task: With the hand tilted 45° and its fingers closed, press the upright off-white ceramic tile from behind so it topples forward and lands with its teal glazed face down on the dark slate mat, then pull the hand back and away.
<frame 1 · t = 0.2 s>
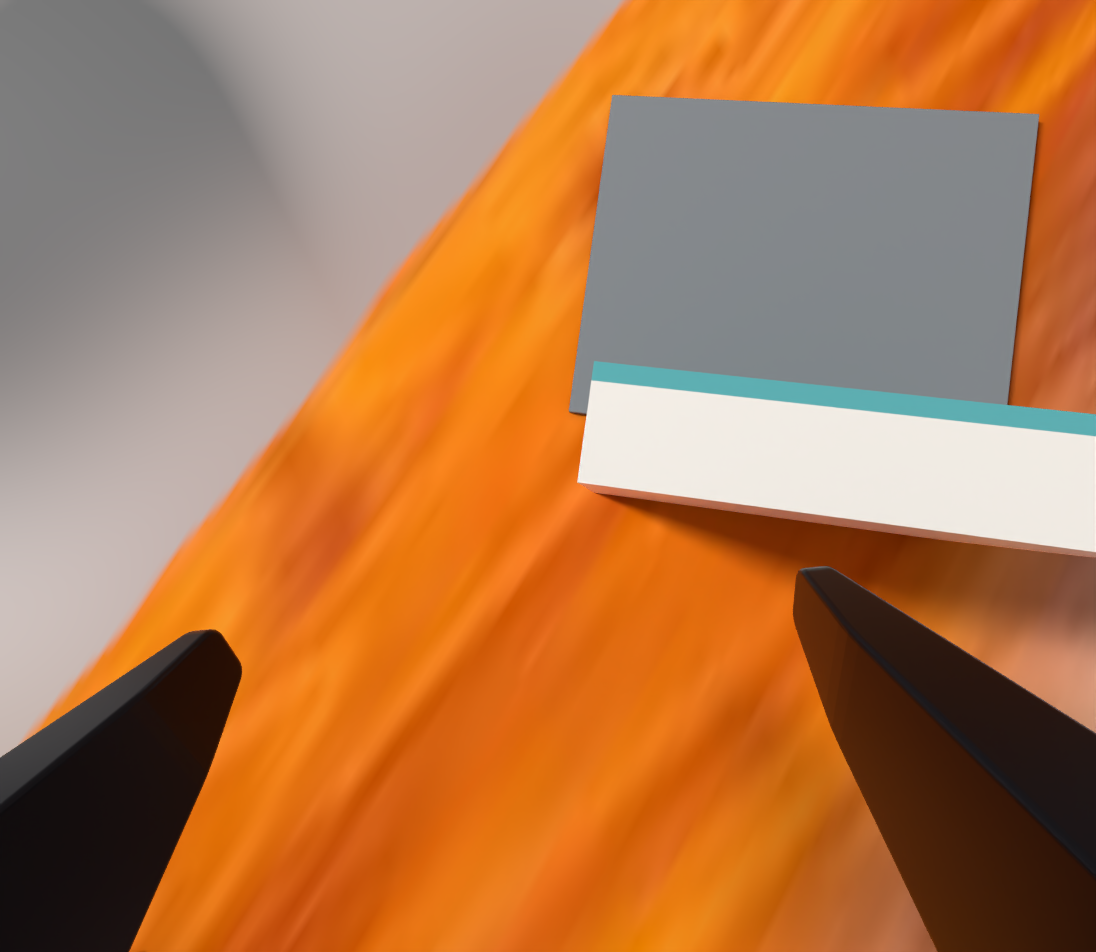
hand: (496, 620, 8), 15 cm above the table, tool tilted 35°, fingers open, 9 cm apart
tile: (765, 485, 22), on the table
slate mat: (792, 271, 22), on the table
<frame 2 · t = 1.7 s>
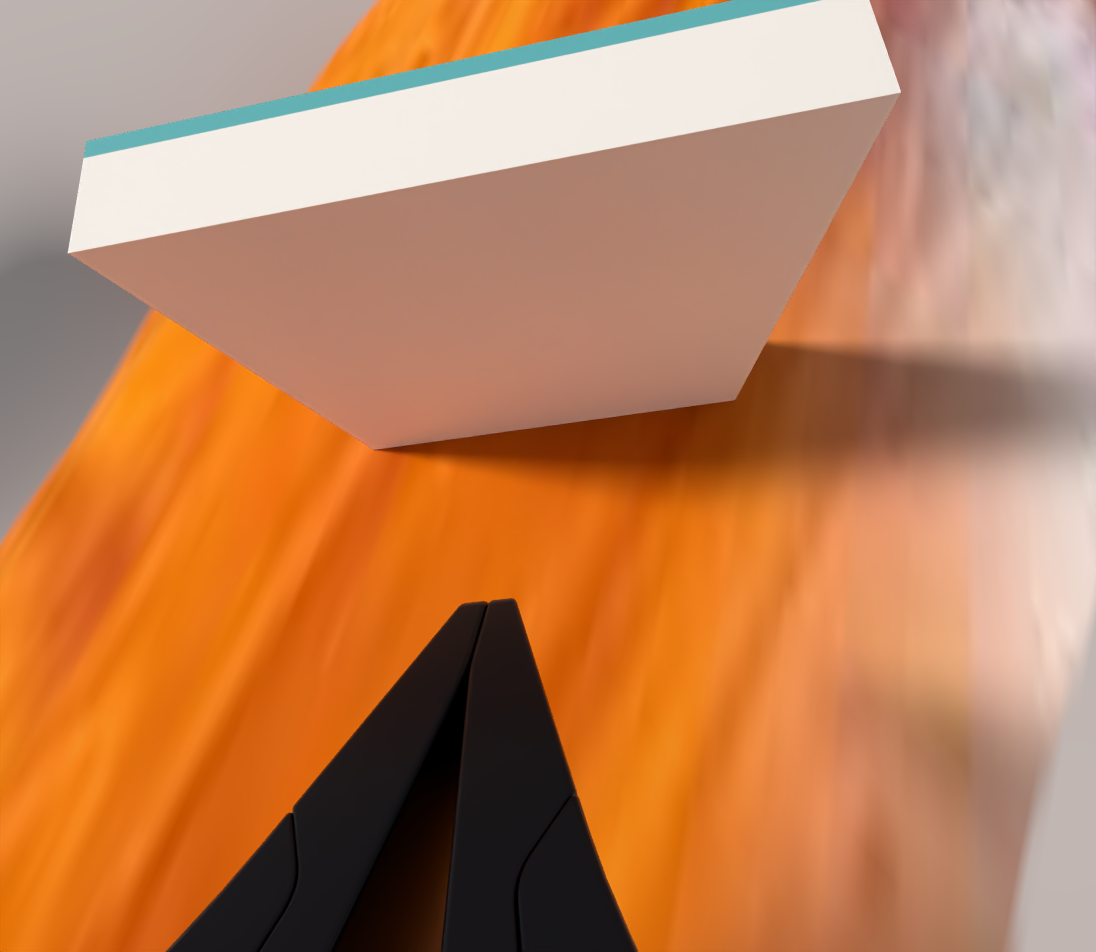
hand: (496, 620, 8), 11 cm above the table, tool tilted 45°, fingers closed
tile: (544, 396, 20), on the table
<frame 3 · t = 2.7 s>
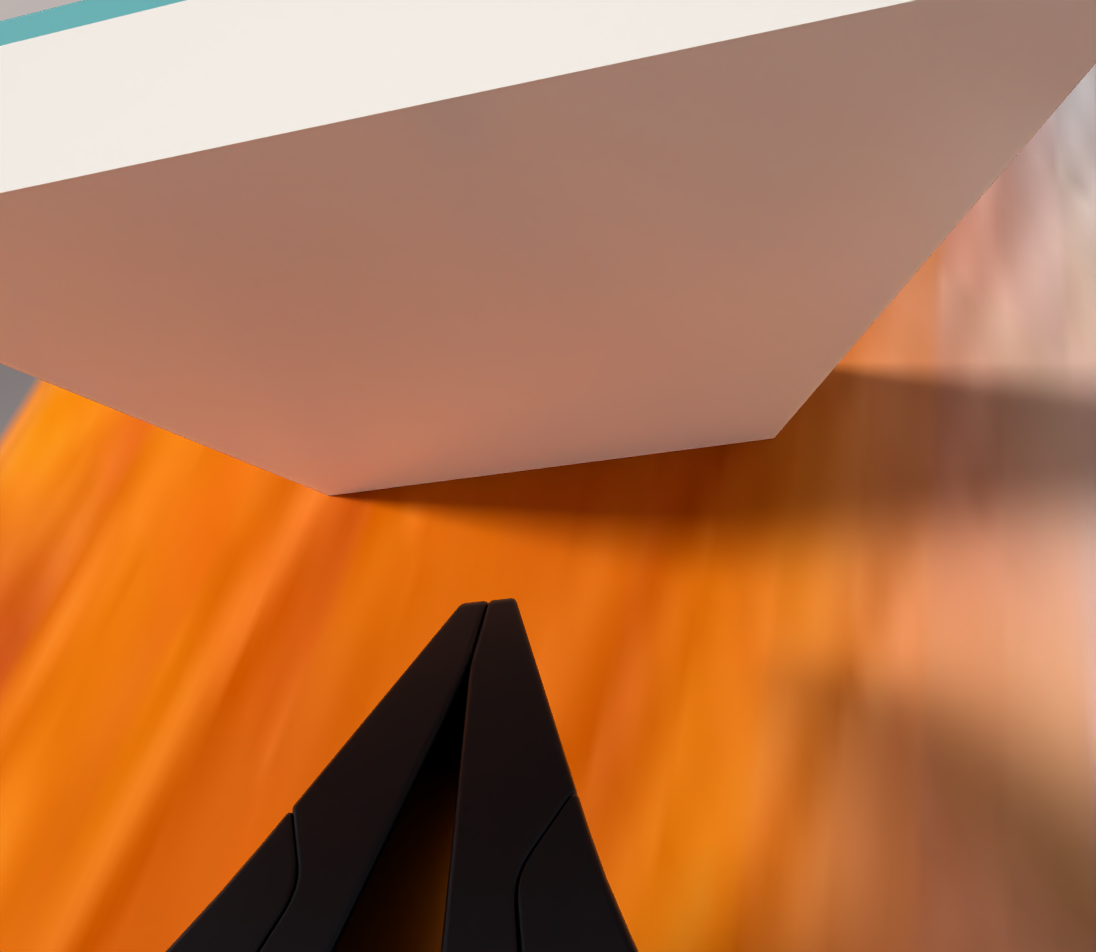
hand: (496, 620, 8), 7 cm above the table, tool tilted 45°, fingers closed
tile: (537, 431, 17), on the table
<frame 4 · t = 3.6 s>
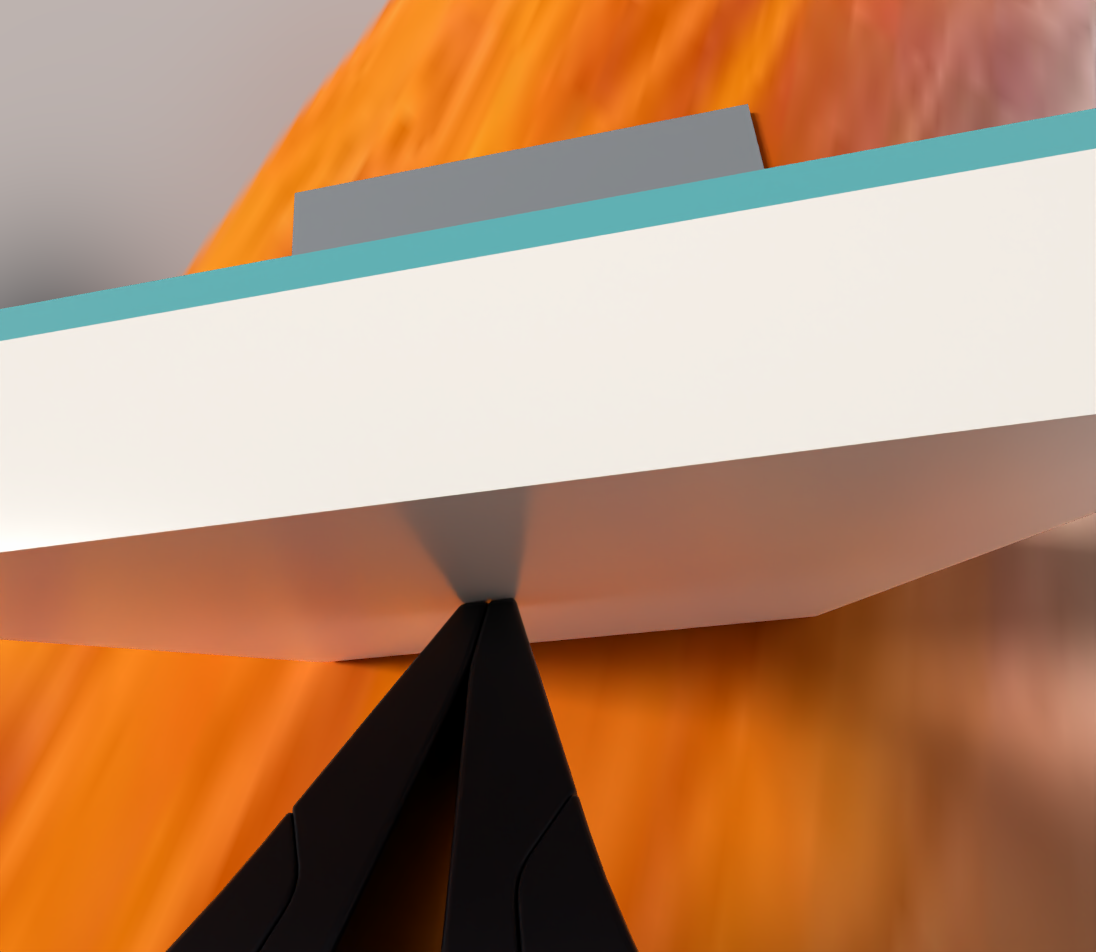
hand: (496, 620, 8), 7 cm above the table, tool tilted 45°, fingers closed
tile: (553, 595, 15), on the table, tilted 7°
slate mat: (527, 322, 18), on the table
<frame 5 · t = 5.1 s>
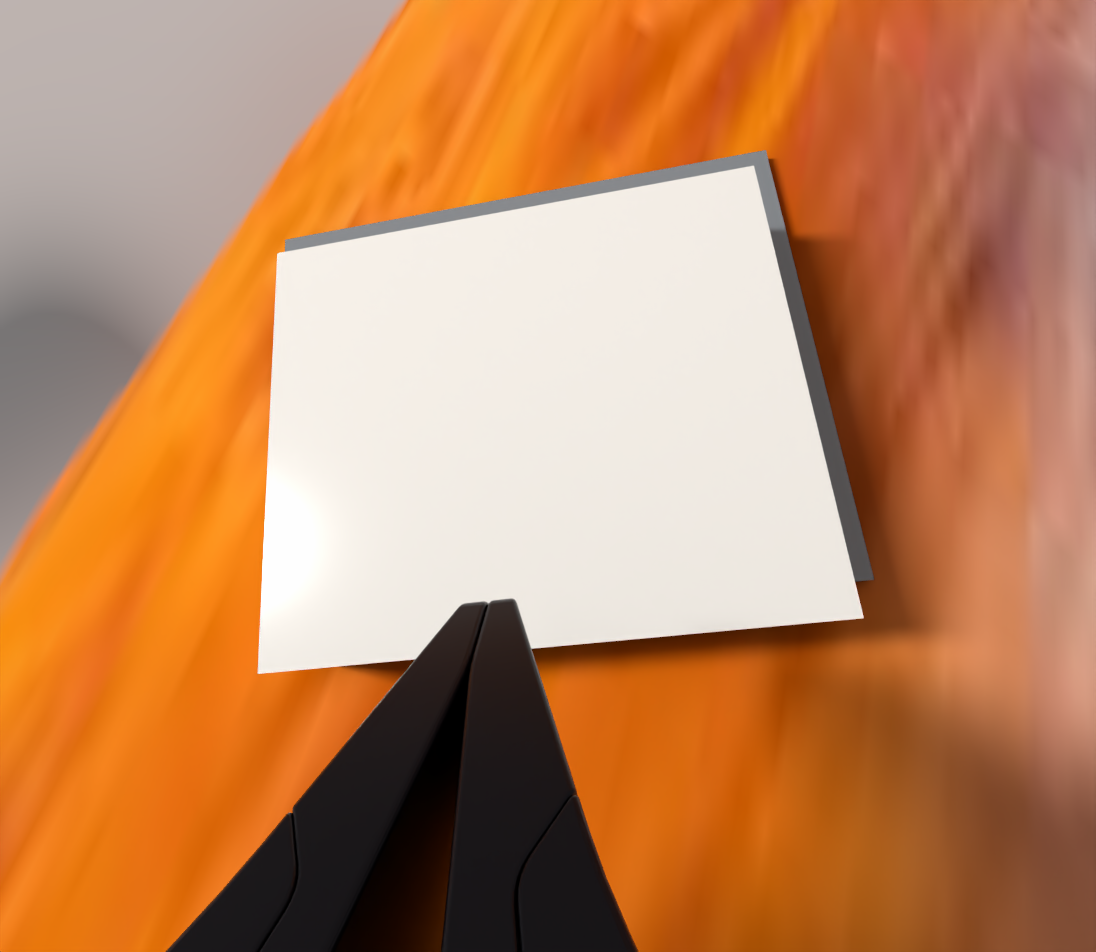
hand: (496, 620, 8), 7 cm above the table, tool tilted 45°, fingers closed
tile: (549, 644, 13), point 2 cm above the table, tilted 90°, touching slate mat
slate mat: (532, 385, 17), on the table
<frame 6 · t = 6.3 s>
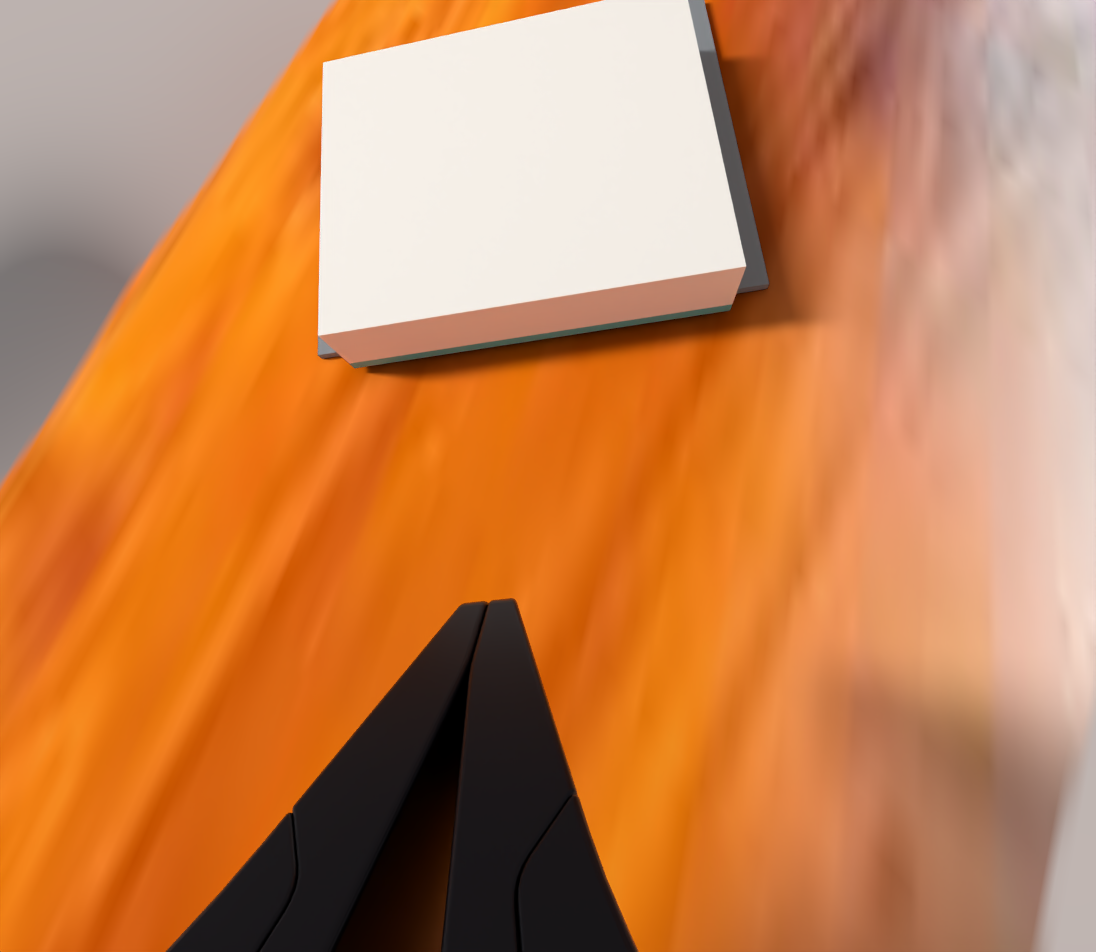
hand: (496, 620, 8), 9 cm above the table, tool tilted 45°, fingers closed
tile: (529, 322, 18), point 2 cm above the table, tilted 90°, touching slate mat
slate mat: (519, 173, 22), on the table
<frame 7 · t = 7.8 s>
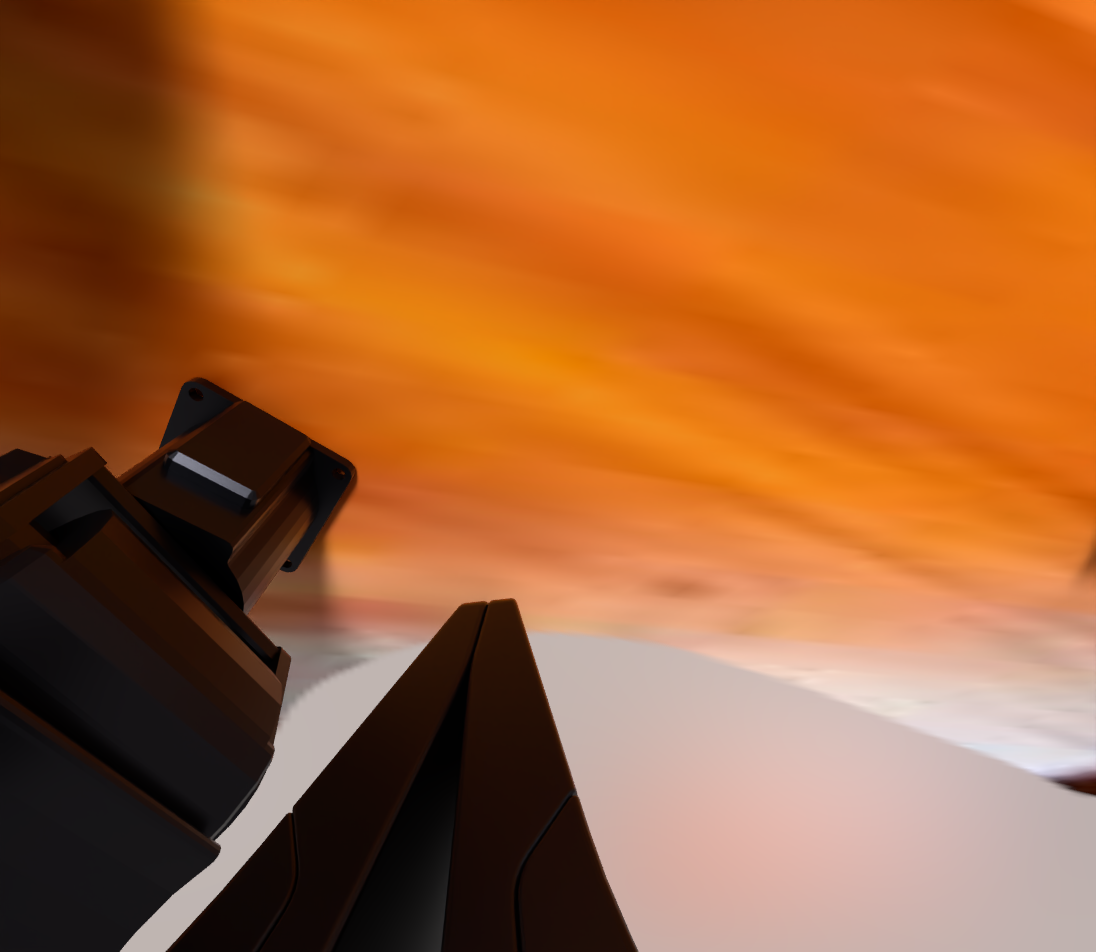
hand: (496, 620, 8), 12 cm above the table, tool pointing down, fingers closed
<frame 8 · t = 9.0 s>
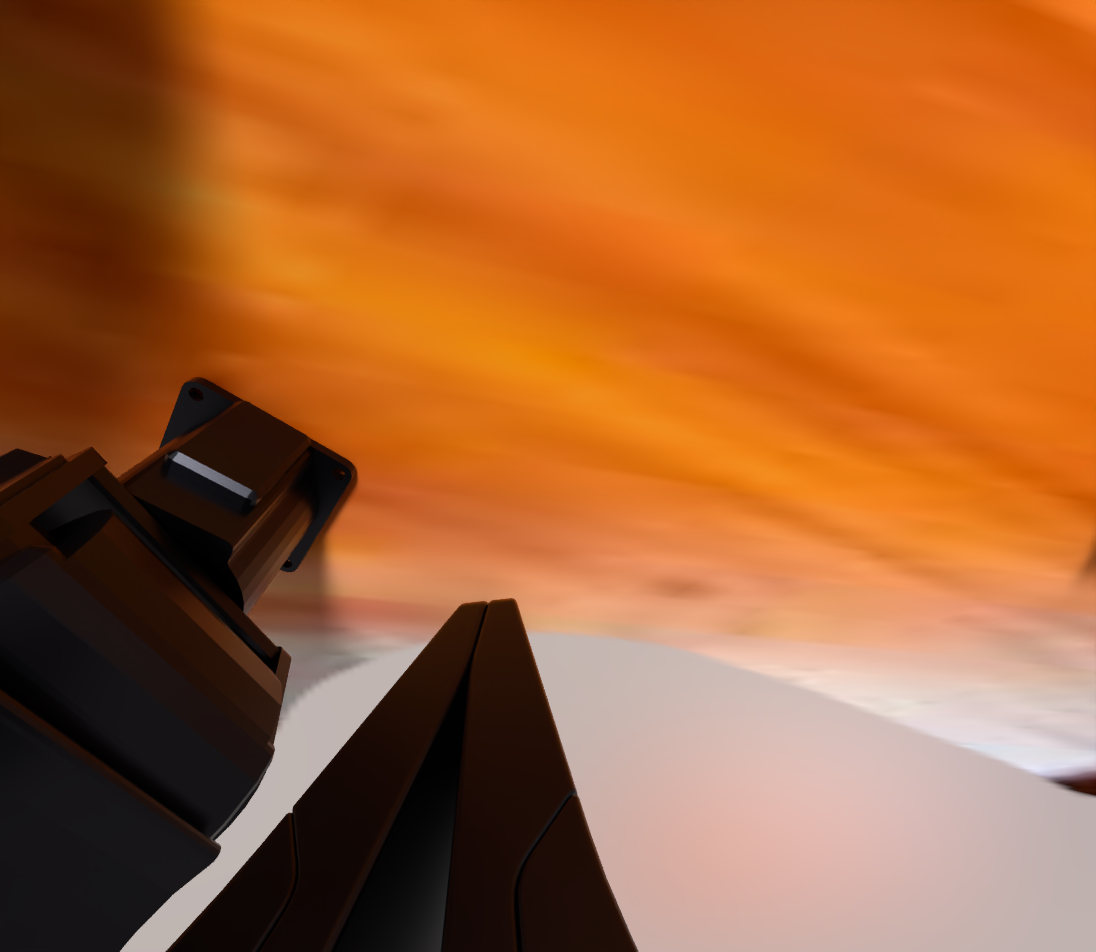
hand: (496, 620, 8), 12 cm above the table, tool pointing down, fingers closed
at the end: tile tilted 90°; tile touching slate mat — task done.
